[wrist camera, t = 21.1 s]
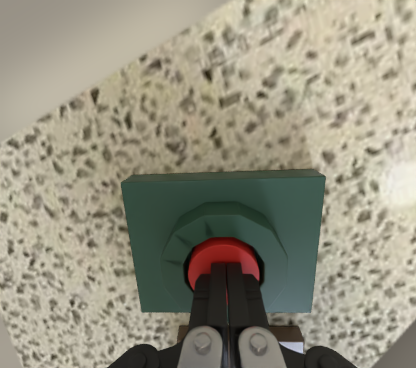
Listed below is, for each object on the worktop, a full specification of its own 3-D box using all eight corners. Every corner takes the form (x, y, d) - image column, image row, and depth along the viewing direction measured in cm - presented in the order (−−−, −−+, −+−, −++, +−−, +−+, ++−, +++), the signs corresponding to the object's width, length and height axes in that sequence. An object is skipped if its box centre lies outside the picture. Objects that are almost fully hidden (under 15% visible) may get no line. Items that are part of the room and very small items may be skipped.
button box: (148, 293, 17) (131, 338, 13) (131, 174, 14) (103, 193, 11) (302, 293, 16) (324, 340, 13) (313, 168, 13) (345, 186, 10)
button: (193, 281, 14) (190, 305, 12) (189, 228, 13) (185, 245, 11) (253, 281, 13) (258, 305, 12) (254, 227, 12) (260, 244, 11)
